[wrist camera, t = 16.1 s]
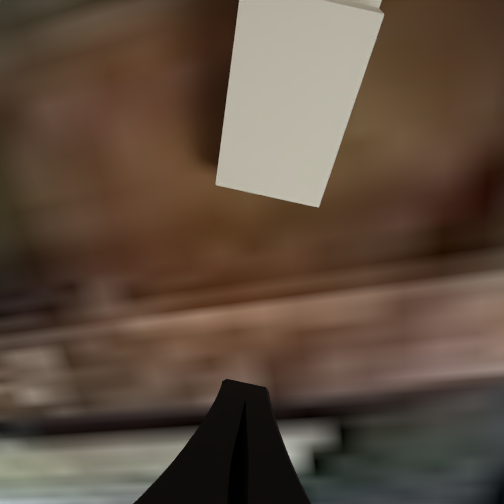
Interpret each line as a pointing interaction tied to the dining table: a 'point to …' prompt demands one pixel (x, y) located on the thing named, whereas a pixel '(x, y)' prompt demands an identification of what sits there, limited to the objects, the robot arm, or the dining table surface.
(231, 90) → the ivory domino
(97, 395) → the dining table surface
